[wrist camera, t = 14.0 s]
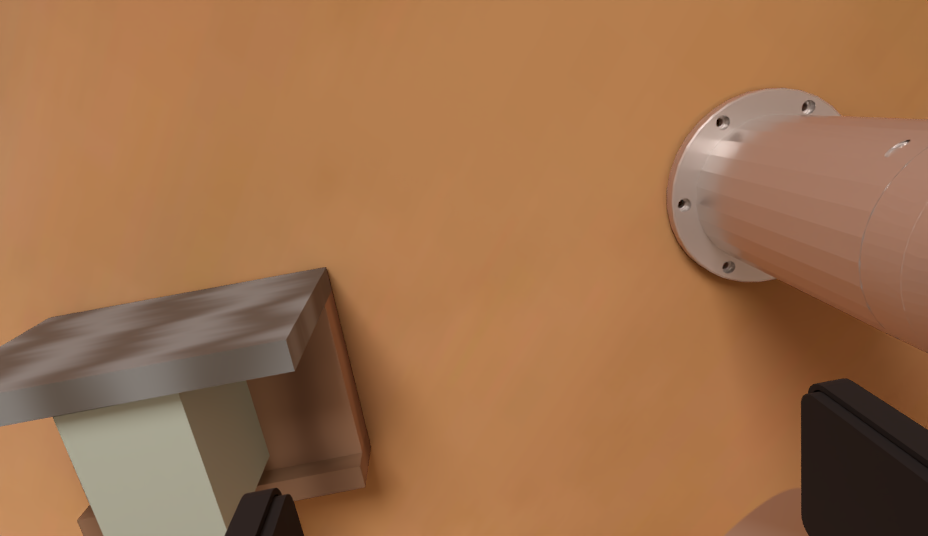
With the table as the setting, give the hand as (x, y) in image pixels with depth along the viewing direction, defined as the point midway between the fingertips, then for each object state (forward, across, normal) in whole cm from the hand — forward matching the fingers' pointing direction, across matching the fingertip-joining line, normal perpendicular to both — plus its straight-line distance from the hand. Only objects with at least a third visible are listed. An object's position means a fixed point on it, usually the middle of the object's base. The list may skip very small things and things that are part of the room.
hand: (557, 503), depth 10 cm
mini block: (+25, +18, +8) cm, 32 cm away
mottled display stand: (+28, +18, +9) cm, 35 cm away
